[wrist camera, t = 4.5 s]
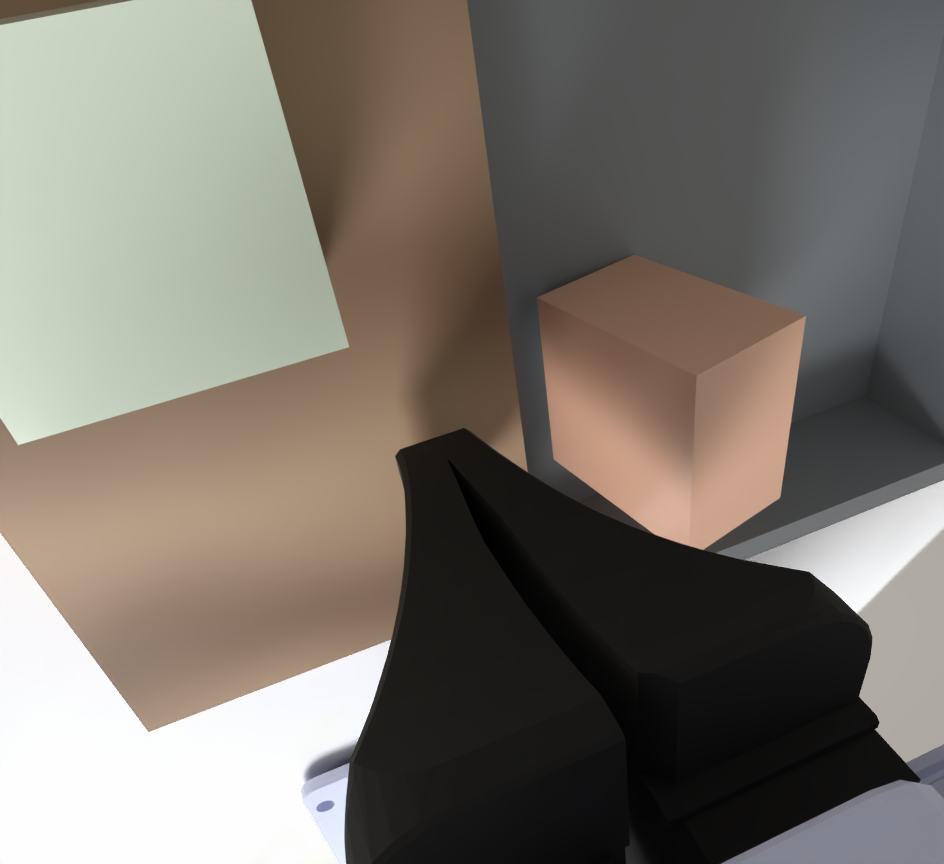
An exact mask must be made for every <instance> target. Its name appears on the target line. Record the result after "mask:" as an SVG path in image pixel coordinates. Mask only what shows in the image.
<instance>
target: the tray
mask: <svg viewBox="0 0 944 864" xmlns="http://www.w3.org/2000/svg"><path fill="white" fill-rule="evenodd" d="M467 4H468V12H469V20H470V28H471V35H472V43H473V51H474V59H475V66H476V74H477V82H478V90H479V97H480V105H481V113H482V121H483V128H484V136H485V144H486V152H487V160H488V167H489V175H490V183H491V191H492V198H493V206H494V214H495V222H496V229H497V237H498V245H499V253H500V261H501V268H502V276H503V284H504V292H505V299H506V307H507V315H508V323H509V330H510V338H511V346H512V354H513V362H514V369H515V377H516V385H517V393H518V400H519V408H520V416H521V424H522V431H523V439H524V447H525V455H526V462H527V470H528V473H530V474H532V475H533V476H535V477H536V478H538V479H540V480H541V481H543V482H544V483H546V484H548V485H549V486H551V487H553V488H554V489H556V490H558V491H560V492H561V493H563V494H565V495H567V496H569V497H570V498H572V499H574V500H576V501H578V502H580V503H582V504H584V505H586V506H587V507H589V508H591V509H593V510H595V511H598V512H600V513H602V514H604V515H606V516H609V517H611V518H613V519H615V520H618V521H620V522H622V523H625V524H627V525H630V526H632V527H635V528H637V529H640V530H643V531H645V532H648V533H651V534H653V533H652V532H651V531H649V530H648V529H647V528H645V527H644V526H643V525H641V524H640V523H639V522H637V521H636V520H634V519H633V518H632V517H630V516H629V515H628V514H626V513H625V512H624V511H622V510H621V509H620V508H618V507H617V506H616V505H614V504H613V503H612V502H610V501H609V500H608V499H606V498H605V497H604V496H602V495H601V494H600V493H598V492H597V491H595V490H594V489H593V488H591V487H590V486H589V485H587V484H586V483H585V482H583V481H582V480H581V479H579V478H578V477H577V476H575V475H574V474H573V473H571V472H570V471H569V470H567V469H566V468H565V467H563V466H562V465H560V464H559V463H558V462H556V461H555V460H554V458H553V449H552V439H551V430H550V420H549V410H548V401H547V391H546V382H545V372H544V363H543V353H542V343H541V334H540V324H539V315H538V305H537V297H539V296H541V295H544V294H546V293H548V292H551V291H553V290H555V289H557V288H560V287H562V286H564V285H566V284H569V283H571V282H573V281H575V280H578V279H580V278H582V277H584V276H587V275H589V274H591V273H594V272H596V271H598V270H600V269H603V268H605V267H607V266H609V265H612V264H614V263H616V262H618V261H621V260H623V259H625V258H628V257H630V256H632V255H637V256H640V257H643V258H646V259H648V260H651V261H654V262H657V263H660V264H662V265H665V266H668V267H671V268H673V269H676V270H679V271H682V272H685V273H687V274H690V275H693V276H696V277H699V278H701V279H704V280H707V281H710V282H713V283H715V284H718V285H721V286H724V287H727V288H729V289H732V290H735V291H738V292H741V293H743V294H746V295H749V296H752V297H755V298H757V299H760V300H763V301H766V302H769V303H771V304H774V305H777V306H780V307H783V308H785V309H788V310H791V311H794V312H797V313H799V314H802V315H805V316H806V320H805V327H804V334H803V341H802V348H801V355H800V362H799V369H798V376H797V383H796V390H795V397H794V404H793V411H792V418H791V425H790V432H789V439H788V446H787V453H786V460H785V467H784V474H783V481H782V489H781V496H780V498H779V499H778V500H776V501H775V502H773V503H772V504H770V505H769V506H767V507H766V508H764V509H763V510H761V511H760V512H758V513H757V514H755V515H754V516H752V517H751V518H749V519H748V520H746V521H745V522H744V523H742V524H741V525H739V526H738V527H736V528H735V529H733V530H732V531H730V532H729V533H727V534H726V535H724V536H723V537H721V538H720V539H718V540H717V541H715V542H714V543H712V544H711V545H709V546H708V547H707V548H705V549H704V550H705V551H709V552H713V553H717V554H721V555H725V556H729V557H733V558H737V559H741V560H744V559H747V558H749V557H752V556H754V555H757V554H759V553H762V552H764V551H767V550H769V549H772V548H774V547H777V546H779V545H782V544H785V543H787V542H790V541H792V540H795V539H797V538H800V537H802V536H805V535H807V534H810V533H812V532H815V531H817V530H820V529H822V528H825V527H827V526H830V525H832V524H835V523H837V522H840V521H842V520H845V519H847V518H850V517H852V516H855V515H857V514H860V513H862V512H865V511H867V510H870V509H872V508H875V507H877V506H880V505H882V504H885V503H887V502H890V501H892V500H895V499H897V498H900V497H902V496H905V495H907V494H910V493H912V492H915V491H917V490H920V489H922V488H925V487H927V486H930V485H932V484H935V483H937V482H940V481H942V480H944V0H467ZM654 535H655V534H654Z"/></svg>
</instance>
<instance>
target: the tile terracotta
mask: <svg viewBox="0 0 944 864" xmlns="http://www.w3.org/2000/svg"><path fill="white" fill-rule="evenodd" d="M537 305H538V315H539V324H540V334H541V343H542V353H543V363H544V372H545V382H546V391H547V401H548V410H549V420H550V430H551V439H552V449H553V458H554V460H555V461H556V462H558V463H559V464H560V465H562V466H563V467H565V468H566V469H567V470H569V471H570V472H571V473H573V474H574V475H575V476H577V477H578V478H579V479H581V480H582V481H583V482H585V483H586V484H587V485H589V486H590V487H591V488H593V489H594V490H595V491H597V492H598V493H600V494H601V495H602V496H604V497H605V498H606V499H608V500H609V501H610V502H612V503H613V504H614V505H616V506H617V507H618V508H620V509H621V510H622V511H624V512H625V513H626V514H628V515H629V516H630V517H632V518H633V519H634V520H636V521H637V522H639V523H640V524H641V525H643V526H644V527H645V528H647V529H648V530H649V531H651V532H652V533H653V534H655V535H657V536H660V537H663V538H666V539H669V540H672V541H675V542H678V543H681V544H684V545H688V546H691V547H695V548H698V549H701V550H704V549H705V548H707V547H708V546H709V545H711V544H712V543H714V542H715V541H717V540H718V539H720V538H721V537H723V536H724V535H726V534H727V533H729V532H730V531H732V530H733V529H735V528H736V527H738V526H739V525H741V524H742V523H744V522H745V521H746V520H748V519H749V518H751V517H752V516H754V515H755V514H757V513H758V512H760V511H761V510H763V509H764V508H766V507H767V506H769V505H770V504H772V503H773V502H775V501H776V500H778V499H779V498H780V496H781V489H782V481H783V474H784V467H785V460H786V453H787V446H788V439H789V432H790V425H791V418H792V411H793V404H794V397H795V390H796V383H797V376H798V369H799V362H800V355H801V348H802V341H803V334H804V327H805V320H806V316H805V315H802V314H799V313H797V312H794V311H791V310H788V309H785V308H783V307H780V306H777V305H774V304H771V303H769V302H766V301H763V300H760V299H757V298H755V297H752V296H749V295H746V294H743V293H741V292H738V291H735V290H732V289H729V288H727V287H724V286H721V285H718V284H715V283H713V282H710V281H707V280H704V279H701V278H699V277H696V276H693V275H690V274H687V273H685V272H682V271H679V270H676V269H673V268H671V267H668V266H665V265H662V264H660V263H657V262H654V261H651V260H648V259H646V258H643V257H640V256H637V255H632V256H630V257H628V258H625V259H623V260H621V261H618V262H616V263H614V264H612V265H609V266H607V267H605V268H603V269H600V270H598V271H596V272H594V273H591V274H589V275H587V276H584V277H582V278H580V279H578V280H575V281H573V282H571V283H569V284H566V285H564V286H562V287H560V288H557V289H555V290H553V291H551V292H548V293H546V294H544V295H541V296H539V297H537Z"/></svg>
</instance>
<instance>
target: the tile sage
mask: <svg viewBox="0 0 944 864" xmlns="http://www.w3.org/2000/svg"><path fill="white" fill-rule="evenodd" d="M348 347H349V344H348V341H347V337H346V334H345V330H344V327H343V323H342V320H341V316H340V312H339V309H338V305H337V302H336V298H335V295H334V291H333V288H332V284H331V281H330V277H329V274H328V270H327V266H326V263H325V259H324V256H323V252H322V249H321V245H320V242H319V238H318V235H317V231H316V228H315V224H314V220H313V217H312V213H311V210H310V206H309V203H308V199H307V196H306V192H305V189H304V185H303V182H302V178H301V174H300V171H299V167H298V164H297V160H296V157H295V153H294V150H293V146H292V143H291V139H290V136H289V132H288V128H287V125H286V121H285V118H284V114H283V111H282V107H281V104H280V100H279V97H278V93H277V90H276V86H275V83H274V79H273V75H272V72H271V68H270V65H269V61H268V58H267V54H266V51H265V47H264V44H263V40H262V37H261V33H260V29H259V26H258V22H257V19H256V15H255V12H254V8H253V5H252V1H251V0H100V1H95V2H89V3H84V4H78V5H73V6H68V7H62V8H57V9H52V10H46V11H41V12H35V13H30V14H25V15H19V16H14V17H9V18H3V19H0V418H1V420H2V421H3V423H4V424H5V426H6V427H7V429H8V430H9V432H10V433H11V435H12V436H13V438H14V439H15V441H16V442H17V444H18V445H20V444H24V443H27V442H30V441H34V440H37V439H41V438H44V437H47V436H51V435H54V434H58V433H61V432H64V431H68V430H71V429H74V428H78V427H81V426H85V425H88V424H91V423H95V422H98V421H101V420H105V419H108V418H112V417H115V416H118V415H122V414H125V413H128V412H132V411H135V410H139V409H142V408H145V407H149V406H152V405H156V404H159V403H162V402H166V401H169V400H172V399H176V398H179V397H183V396H186V395H189V394H193V393H196V392H199V391H203V390H206V389H210V388H213V387H216V386H220V385H223V384H226V383H230V382H233V381H237V380H240V379H243V378H247V377H250V376H254V375H257V374H260V373H264V372H267V371H270V370H274V369H277V368H281V367H284V366H287V365H291V364H294V363H297V362H301V361H304V360H308V359H311V358H314V357H318V356H321V355H325V354H328V353H331V352H335V351H338V350H341V349H345V348H348Z"/></svg>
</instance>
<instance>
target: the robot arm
mask: <svg viewBox="0 0 944 864" xmlns="http://www.w3.org/2000/svg"><path fill="white" fill-rule="evenodd" d="M395 458H396V462H397V466H398V469H399V473H400V477H401V480H402V484H403V488H404V494H405V514H406V537H405V555H404V568H403V577H402V585H401V592H400V599H399V605H398V610H397V615H396V620H395V625H394V630H393V634H392V639H391V643H390V647H389V651H388V655H387V659H386V662H385V665H384V668H383V672H382V675H381V678H380V681H379V685H378V688H377V691H376V694H375V698H374V701H373V704H372V707H371V709H370V712H369V715H368V717H367V720H366V722H365V725H364V727H363V730H362V732H361V735H360V737H359V740H358V742H357V745H356V747H355V750H354V752H353V755H352V757H351V760H350V763H347V764H345V765H343V766H340V767H338V768H335V769H333V770H330V771H328V772H326V773H323V774H321V775H318V776H316V777H314V778H312V779H310V780H308V781H307V782H306V783H305V784H304V785H303V788H302V796H303V803H304V805H305V807H306V808H307V810H308V812H309V814H310V815H311V817H312V819H313V821H314V822H315V824H316V826H317V827H318V829H319V831H320V833H321V834H322V836H323V838H324V840H325V841H326V843H327V845H328V847H329V848H330V850H331V852H332V854H333V855H334V857H335V859H336V861H337V862H338V864H944V745H942V746H940V747H938V748H936V749H934V750H931V751H929V752H927V753H925V754H923V755H921V756H919V757H917V758H915V759H913V760H911V761H909V762H907V763H905V762H904V761H903V760H902V759H901V757H900V756H899V755H898V754H897V753H896V752H895V751H894V750H893V749H892V748H891V747H890V746H889V744H887V742H886V741H885V740H884V739H883V738H882V737H881V736H880V735H879V734H878V732H876V730H875V729H876V728H878V725H879V721H878V718H877V716H876V715H875V713H874V712H872V710H871V709H870V708H869V707H868V706H867V705H866V704H865V703H864V702H863V701H862V700H861V699H860V697H859V694H860V690H861V687H862V684H863V680H864V677H865V674H866V670H867V667H868V663H869V660H870V655H871V647H872V635H871V632H870V629H869V626H868V624H867V623H866V622H865V621H864V620H863V619H862V618H860V616H859V615H857V614H856V613H855V612H854V611H853V610H852V609H851V608H850V607H849V606H848V605H847V604H846V603H845V602H844V601H843V600H842V599H841V598H840V597H839V596H838V595H837V594H836V593H834V592H833V591H832V590H831V589H830V588H828V587H827V586H826V585H825V584H823V583H822V582H821V581H820V580H818V579H817V578H816V577H815V576H813V575H812V574H811V573H810V572H806V571H800V570H795V569H789V568H784V567H778V566H773V565H767V564H762V563H756V562H751V561H746V560H741V559H737V558H733V557H729V556H725V555H721V554H717V553H713V552H709V551H705V550H701V549H698V548H695V547H691V546H688V545H684V544H681V543H678V542H675V541H672V540H669V539H666V538H663V537H660V536H657V535H654V534H651V533H648V532H645V531H643V530H640V529H637V528H635V527H632V526H630V525H627V524H625V523H622V522H620V521H618V520H615V519H613V518H611V517H609V516H606V515H604V514H602V513H600V512H598V511H595V510H593V509H591V508H589V507H587V506H586V505H584V504H582V503H580V502H578V501H576V500H574V499H572V498H570V497H569V496H567V495H565V494H563V493H561V492H560V491H558V490H556V489H554V488H553V487H551V486H549V485H548V484H546V483H544V482H543V481H541V480H540V479H538V478H536V477H535V476H533V475H532V474H530V473H528V472H527V471H525V470H524V469H522V468H521V467H519V466H518V465H516V464H515V463H513V462H512V461H510V460H509V459H507V458H506V457H504V456H503V455H502V454H500V453H499V452H497V451H496V450H495V449H493V448H492V447H490V446H489V445H488V444H486V443H485V442H484V441H482V440H481V439H480V438H478V437H477V436H476V435H475V434H473V433H472V432H471V431H469V430H467V429H465V428H462V429H459V430H456V431H453V432H450V433H447V434H444V435H441V436H438V437H435V438H432V439H429V440H426V441H423V442H420V443H417V444H414V445H411V446H408V447H405V448H402V449H400V450H399V451H398V453H397V454H396V456H395Z"/></svg>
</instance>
